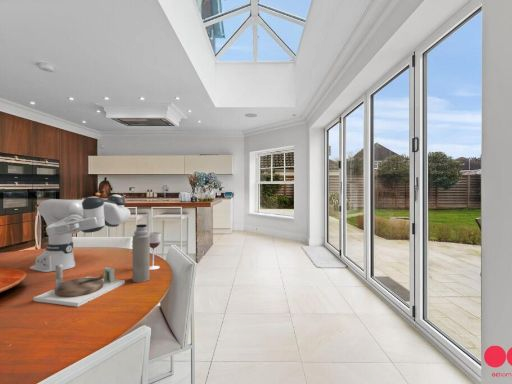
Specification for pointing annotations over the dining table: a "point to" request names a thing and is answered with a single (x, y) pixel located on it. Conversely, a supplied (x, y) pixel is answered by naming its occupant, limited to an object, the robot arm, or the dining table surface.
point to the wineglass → (154, 245)
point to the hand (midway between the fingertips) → (71, 227)
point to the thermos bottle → (141, 254)
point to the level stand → (108, 285)
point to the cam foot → (76, 284)
